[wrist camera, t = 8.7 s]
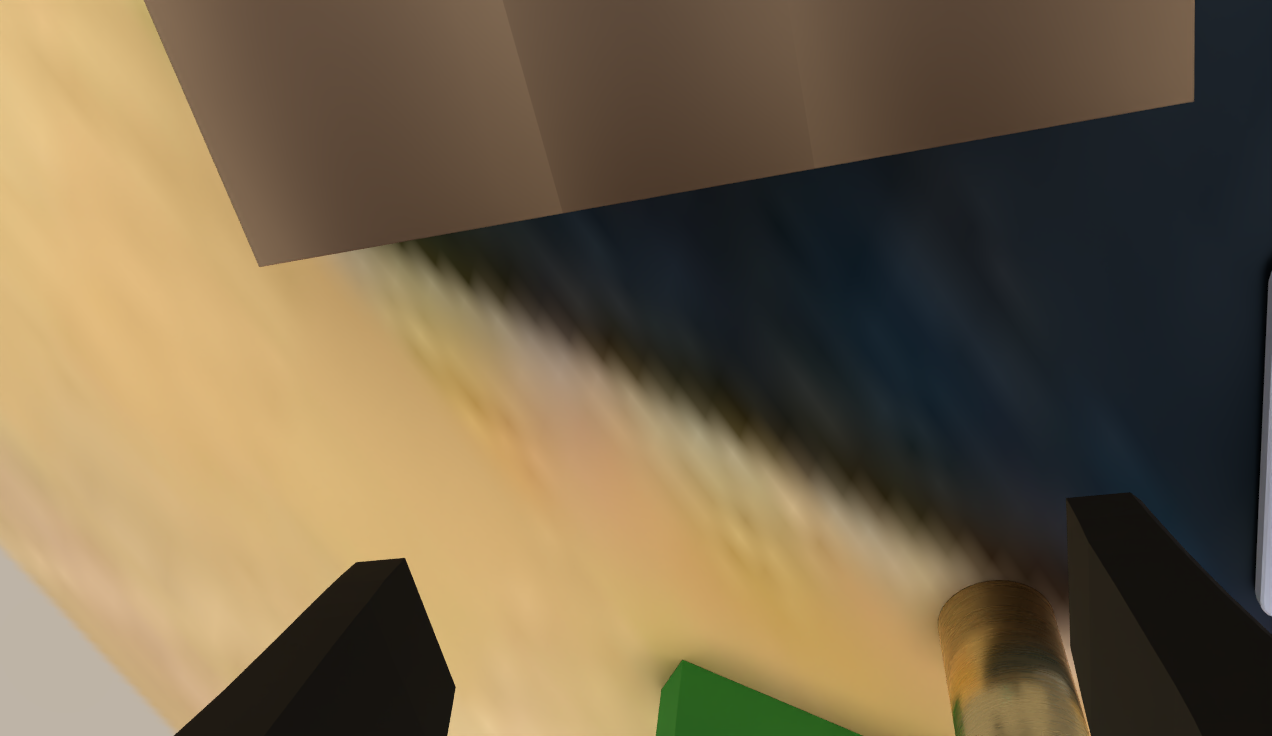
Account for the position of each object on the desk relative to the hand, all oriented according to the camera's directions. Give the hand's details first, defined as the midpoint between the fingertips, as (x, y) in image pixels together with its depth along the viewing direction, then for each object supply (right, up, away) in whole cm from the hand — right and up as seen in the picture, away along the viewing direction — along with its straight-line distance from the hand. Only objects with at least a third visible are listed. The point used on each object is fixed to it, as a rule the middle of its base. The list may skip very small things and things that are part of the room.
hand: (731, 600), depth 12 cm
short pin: (+7, -3, +12) cm, 14 cm away
